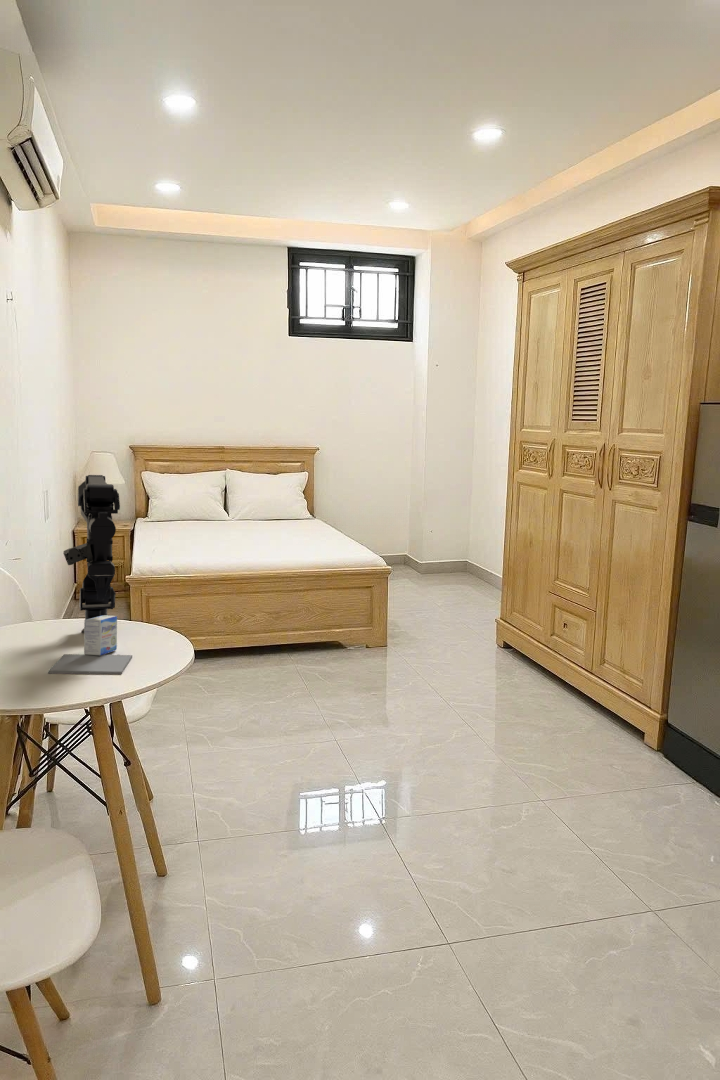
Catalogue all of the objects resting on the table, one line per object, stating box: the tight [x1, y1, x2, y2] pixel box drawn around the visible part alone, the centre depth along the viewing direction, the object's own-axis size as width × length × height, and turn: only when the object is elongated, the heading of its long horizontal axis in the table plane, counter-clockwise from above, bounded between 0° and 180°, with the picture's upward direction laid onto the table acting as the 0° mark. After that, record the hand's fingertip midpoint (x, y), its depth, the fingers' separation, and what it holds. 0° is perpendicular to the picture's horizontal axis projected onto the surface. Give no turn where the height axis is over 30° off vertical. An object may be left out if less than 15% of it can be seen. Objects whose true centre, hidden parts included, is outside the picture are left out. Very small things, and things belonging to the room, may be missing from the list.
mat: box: [47, 653, 133, 675], centre depth 183 cm, size 13×16×1 cm
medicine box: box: [83, 614, 118, 656], centre depth 191 cm, size 8×4×9 cm, turn 167°
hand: (100, 595), depth 197 cm, fingers open, 9 cm apart
